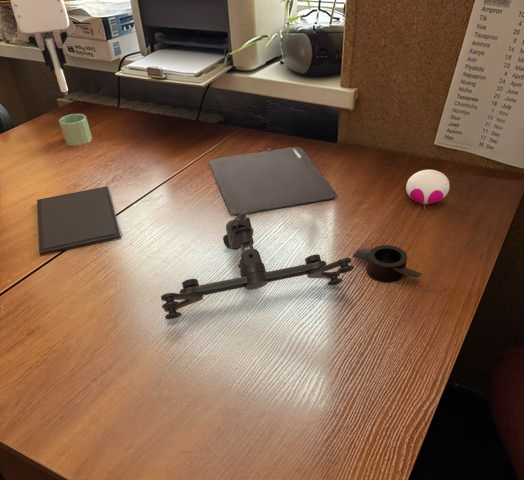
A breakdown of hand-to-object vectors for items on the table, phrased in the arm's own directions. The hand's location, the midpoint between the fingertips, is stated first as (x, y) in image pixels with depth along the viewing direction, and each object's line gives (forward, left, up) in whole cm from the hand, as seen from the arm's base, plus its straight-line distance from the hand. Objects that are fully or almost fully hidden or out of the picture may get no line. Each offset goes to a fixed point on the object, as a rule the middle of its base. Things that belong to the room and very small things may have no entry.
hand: (57, 67), depth 110 cm
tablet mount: (+38, -59, -16) cm, 72 cm away
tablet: (+7, -37, -16) cm, 41 cm away
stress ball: (+72, -40, -16) cm, 84 cm away
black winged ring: (+60, -60, -16) cm, 86 cm away
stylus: (0, 0, -6) cm, 6 cm away
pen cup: (0, 0, -16) cm, 16 cm away
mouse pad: (+44, -26, -16) cm, 54 cm away
